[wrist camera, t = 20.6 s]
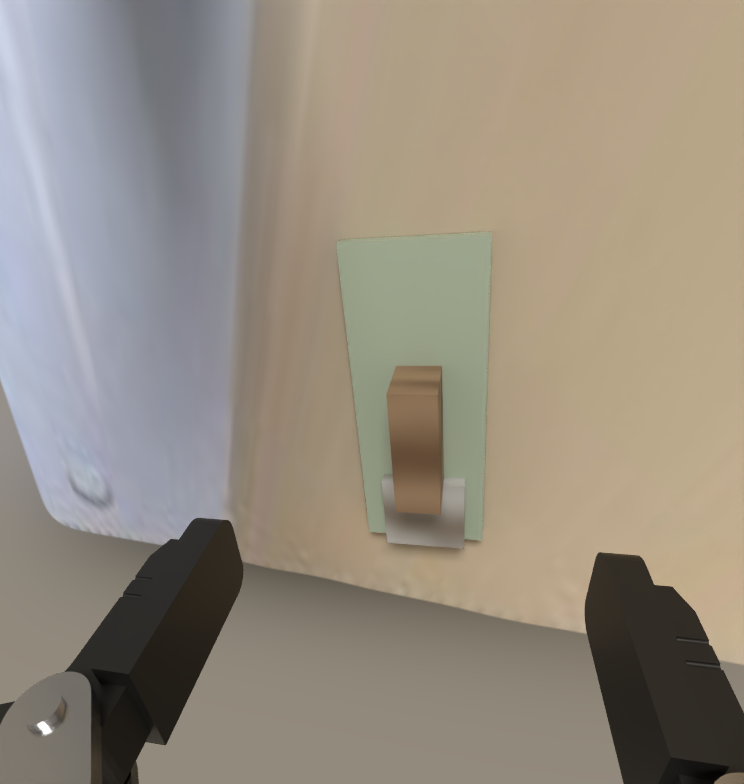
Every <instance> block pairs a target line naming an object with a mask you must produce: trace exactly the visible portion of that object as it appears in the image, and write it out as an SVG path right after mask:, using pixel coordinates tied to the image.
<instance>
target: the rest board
mask: <svg viewBox="0 0 744 784" xmlns="http://www.w3.org/2000/svg"><path fill="white" fill-rule="evenodd" d="M491 240H492V234H491V232H473V233H455V234H437V235H418V236H400V237H381V238H363V239H344V240H340V241H339V242H337V243H336V247H337V256H338V265H339V273H340V282H341V290H342V299H343V308H344V316H345V325H346V334H347V342H348V351H349V359H350V368H351V377H352V385H353V394H354V402H355V411H356V420H357V428H358V437H359V446H360V454H361V463H362V471H363V480H364V489H365V497H366V506H367V515H368V523H369V532H377V533H386V524H385V514H384V503H383V493H382V479H383V475H384V474H391V475H393V471H392V459H391V446H390V434H389V421H388V409H387V397H386V394H387V391H388V388H389V385H390V382H391V379H392V376H393V373H394V370H395V368H396V366H442V396H443V449H444V477H451V478H465V525H464V539H469V540H482V530H483V498H484V465H485V433H486V401H487V369H488V336H489V304H490V272H491Z"/></svg>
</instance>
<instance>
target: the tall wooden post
mask: <svg viewBox="0 0 744 784" xmlns="http://www.w3.org/2000/svg"><path fill="white" fill-rule="evenodd" d="M386 397H387V409H388V421H389V434H390V446H391V459H392V471H393V475H391V474H384V475H383V479H382V493H383V503H384V514H385V524H386V535H387V543H398V544H411V545H423V546H436V547H448V548H461V549H464V525H465V478H451V477H444V449H443V396H442V366H396V368H395V370H394V373H393V376H392V379H391V382H390V385H389V388H388V391H387V394H386Z"/></svg>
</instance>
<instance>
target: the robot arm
mask: <svg viewBox="0 0 744 784" xmlns="http://www.w3.org/2000/svg"><path fill="white" fill-rule="evenodd" d="M242 579H243V564H242V560H241V556H240V553H239V549H238V545H237V541H236V538H235V534H234V530H233V527H232V524H231V522H230V521H228V520H219V519H206V518H196V519H194V520H193V521H192V522H191V523H190V524H189V526H188V527H187V529H186V530H185V532H184V533H183V535H182V536H181V538H180V539H179V540H176V539H171V540H169V541H168V542H167V543H166V544H164V545H163V546H162V547H161V548H159V549H158V550H157V551H156V552H155V553H153V554H152V555H151V556H150V557H149V558H148V560H147V561H146V562H145V564H144V565H143V566H142V568H141V569H140V571H139V572H138V573H137V575H136V578H135V580H132V582H131V583H130V584H129V586H128V587H127V589H126V590H125V591H124V594H123V597H120V598H119V599H118V601H117V602H116V604H115V605H114V606H113V608H112V609H111V611H110V612H109V613H108V615H107V616H106V617H105V619H104V620H103V622H102V623H101V625H100V626H99V627H98V629H97V630H96V631H95V633H94V634H93V635H92V637H91V638H90V639H89V641H88V642H87V644H86V645H85V646H84V648H83V649H82V650H81V652H80V653H79V655H78V656H77V657H76V659H75V660H74V661H73V663H72V664H71V665H70V667H69V668H68V669H67V670H66V671H65V672H62V673H57V674H54V675H51V676H49V677H47V678H45V679H43V680H41V681H39V682H38V683H36V684H35V685H33V686H32V687H30V688H29V689H28V690H26V691H25V692H24V693H23V694H22V695H21V696H20V697H19V698H18V699H17V700H16V701H14V702H10V703H5V704H0V784H139V779H138V767H137V763H136V759H137V757H138V755H139V754H140V752H141V750H142V748H143V746H144V744H145V742H149V743H155V744H161V745H166V744H167V742H168V740H169V738H170V735H171V733H172V731H173V729H174V727H175V725H176V723H177V721H178V719H179V717H180V715H181V713H182V710H183V708H184V706H185V704H186V702H187V700H188V698H189V696H190V694H191V692H192V690H193V688H194V685H195V683H196V681H197V679H198V677H199V675H200V673H201V670H202V669H203V667H204V665H205V662H206V660H207V658H208V656H209V654H210V652H211V650H212V648H213V646H214V644H215V641H216V640H217V637H218V635H219V633H220V631H221V629H222V627H223V625H224V623H225V621H226V619H227V617H228V614H229V612H230V610H231V608H232V606H233V604H234V602H235V600H236V598H237V596H238V593H239V591H240V588H241V585H242ZM585 624H586V631H587V635H588V639H589V643H590V648H591V652H592V656H593V660H594V664H595V668H596V672H597V676H598V680H599V684H600V689H601V693H602V696H603V701H604V705H605V709H606V713H607V717H608V721H609V725H610V730H611V734H612V737H613V742H614V746H615V750H616V754H617V758H618V762H619V766H620V770H621V774H622V779H623V782H624V784H744V713H743V710H742V708H741V706H740V704H739V702H738V700H737V698H736V696H735V694H734V692H733V690H732V688H731V685H730V683H729V681H728V679H727V677H726V675H725V673H724V671H723V670H721V668H720V662H719V660H718V658H717V656H716V654H715V652H714V650H713V648H712V646H710V645H709V639H708V637H707V635H706V633H705V631H704V629H703V627H702V625H701V623H700V621H699V618H698V616H697V614H696V612H695V611H694V610H693V609H692V608H691V607H690V606H689V604H688V603H687V602H686V601H685V600H684V599H683V598H682V597H681V596H680V595H679V594H678V593H677V592H676V590H675V589H674V588H673V587H669V586H658V585H654V583H653V581H652V579H651V576H650V574H649V571H648V569H647V567H646V564H645V562H644V560H643V559H642V558H641V557H640V556H637V555H625V554H613V553H601V552H600V553H598V554H597V556H596V559H595V563H594V568H593V572H592V576H591V580H590V584H589V588H588V592H587V596H586V601H585Z"/></svg>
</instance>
